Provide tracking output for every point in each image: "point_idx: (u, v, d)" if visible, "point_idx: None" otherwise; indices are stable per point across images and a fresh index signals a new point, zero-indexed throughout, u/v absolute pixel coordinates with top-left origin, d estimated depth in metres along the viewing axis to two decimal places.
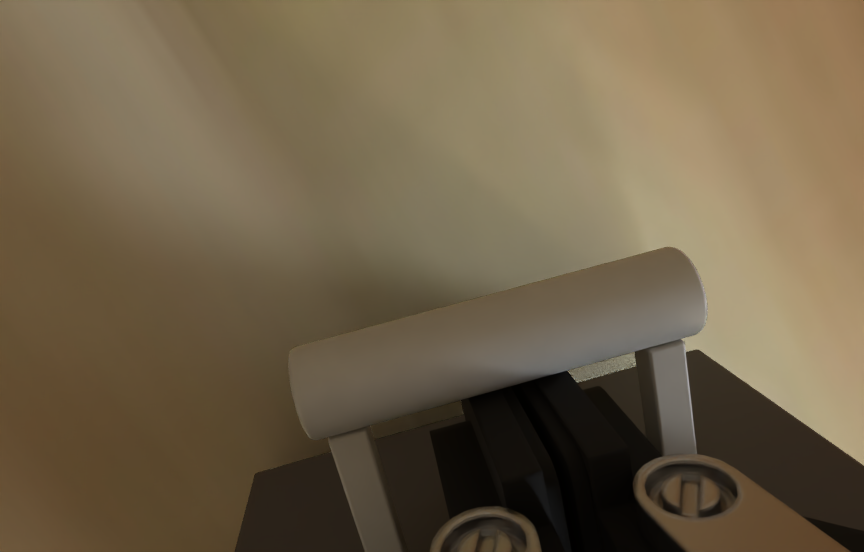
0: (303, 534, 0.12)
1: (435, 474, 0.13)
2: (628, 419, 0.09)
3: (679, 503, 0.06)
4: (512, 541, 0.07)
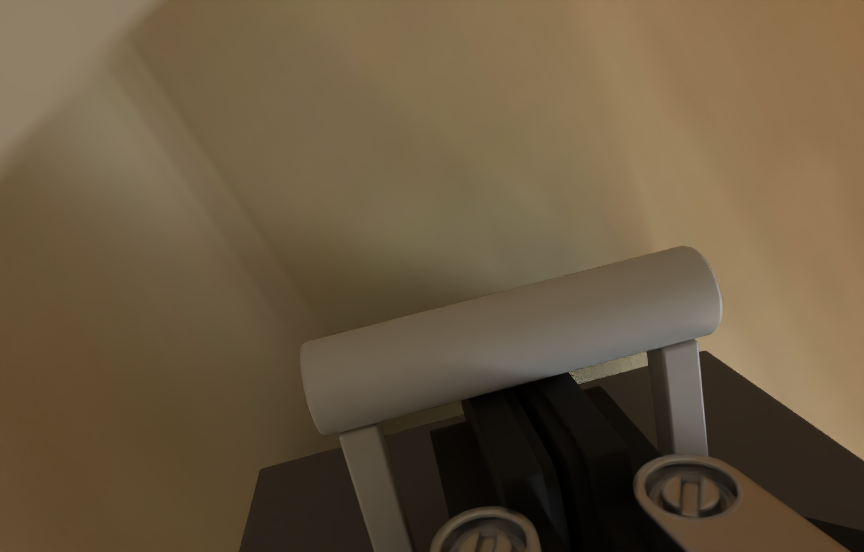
0: (309, 530, 0.12)
1: None
2: (628, 419, 0.09)
3: (679, 503, 0.06)
4: (512, 541, 0.07)
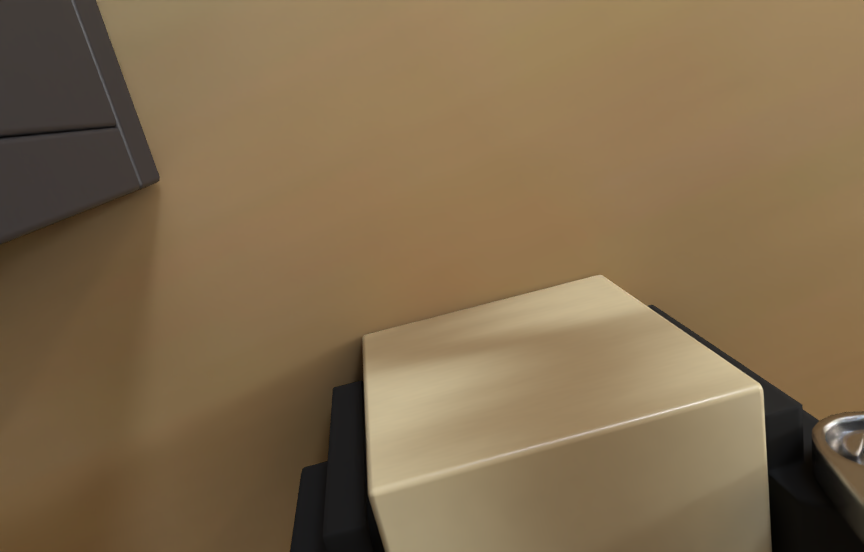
0: None
1: None
2: None
3: None
4: None
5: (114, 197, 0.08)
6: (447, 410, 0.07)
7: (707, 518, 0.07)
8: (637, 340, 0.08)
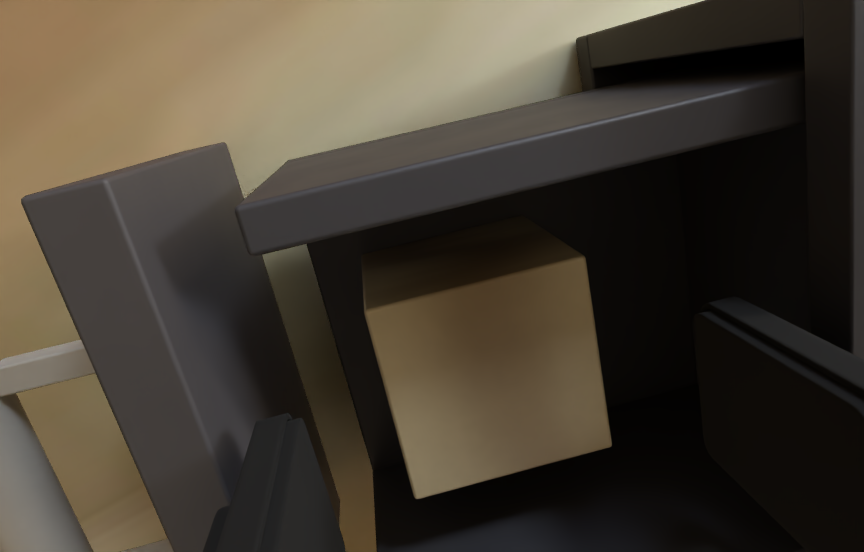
0: None
1: None
2: None
3: None
4: None
5: None
6: (411, 279, 0.12)
7: (558, 335, 0.12)
8: (529, 243, 0.13)
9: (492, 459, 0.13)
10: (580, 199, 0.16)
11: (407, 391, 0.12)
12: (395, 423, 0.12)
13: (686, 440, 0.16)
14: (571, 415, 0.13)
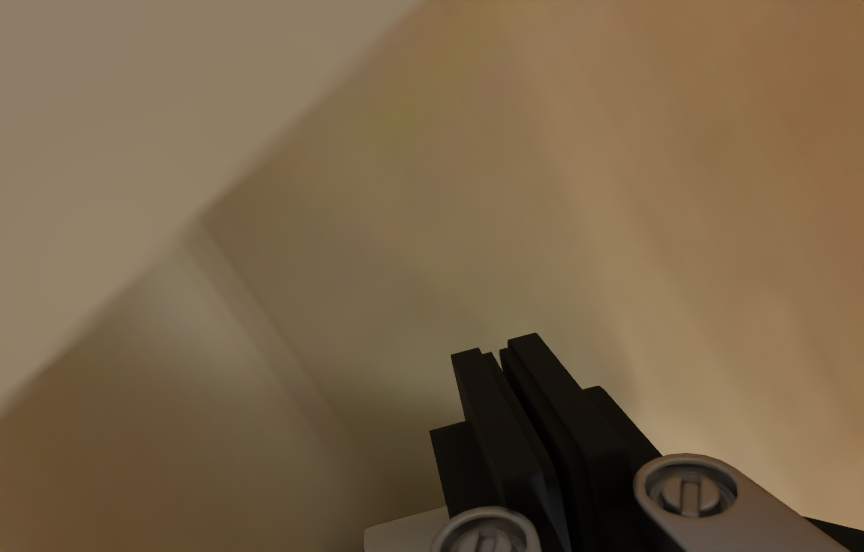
0: None
1: None
2: (628, 419, 0.09)
3: (679, 503, 0.06)
4: (512, 541, 0.07)
5: None
6: None
7: None
8: None
9: None
10: None
11: None
12: None
13: None
14: None
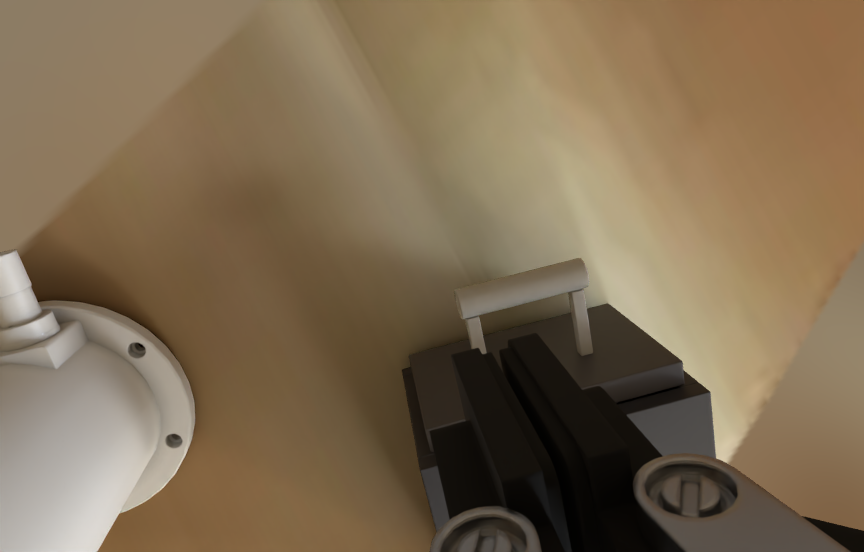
0: (441, 369, 0.30)
1: (492, 349, 0.31)
2: (628, 419, 0.09)
3: (679, 503, 0.06)
4: (512, 541, 0.07)
5: None
6: None
7: None
8: None
9: None
10: None
11: None
12: None
13: None
14: None
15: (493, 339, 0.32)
